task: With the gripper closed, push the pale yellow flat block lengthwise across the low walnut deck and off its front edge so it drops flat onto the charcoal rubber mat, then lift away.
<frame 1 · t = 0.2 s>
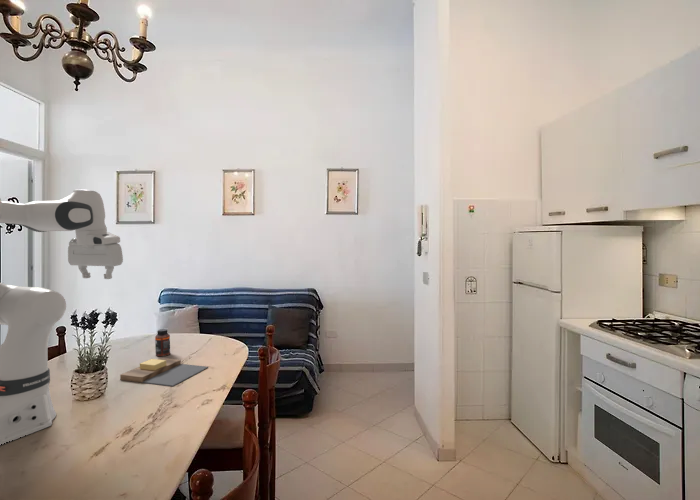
hand: (97, 278, 129), 39 cm above the table, tool pointing down, fingers open, 8 cm apart
mat: (177, 374, 145), on the table
deck: (152, 371, 148), on the table
supplement bottle: (163, 355, 170), on the table
pale yellow flat block: (153, 366, 148), point 2 cm above the table, touching deck
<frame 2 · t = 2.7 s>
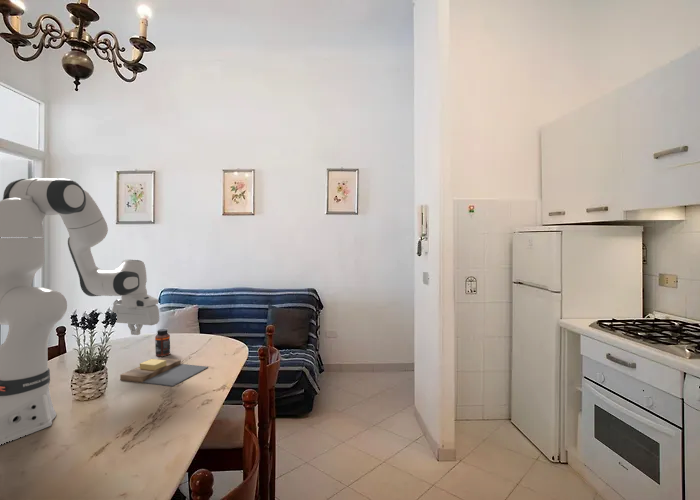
hand: (135, 334, 150), 14 cm above the table, tool pointing down, fingers closed
nothing on the table moved.
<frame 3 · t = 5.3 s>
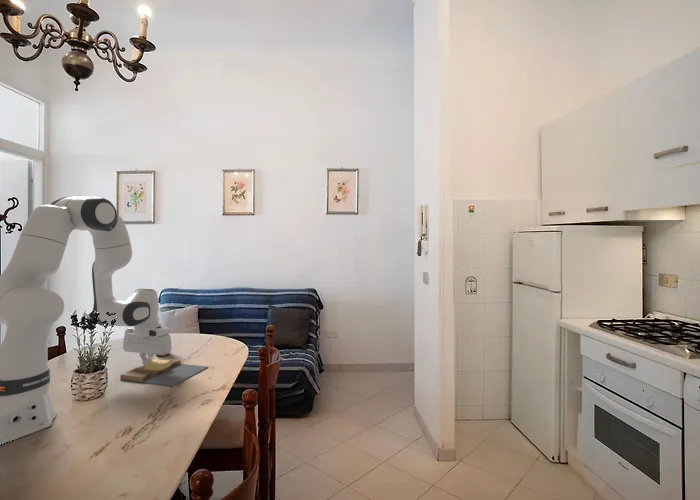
hand: (147, 364, 149), 3 cm above the table, tool pointing down, fingers closed
pale yellow flat block: (157, 367, 147), point 2 cm above the table, touching deck
everything else where it was.
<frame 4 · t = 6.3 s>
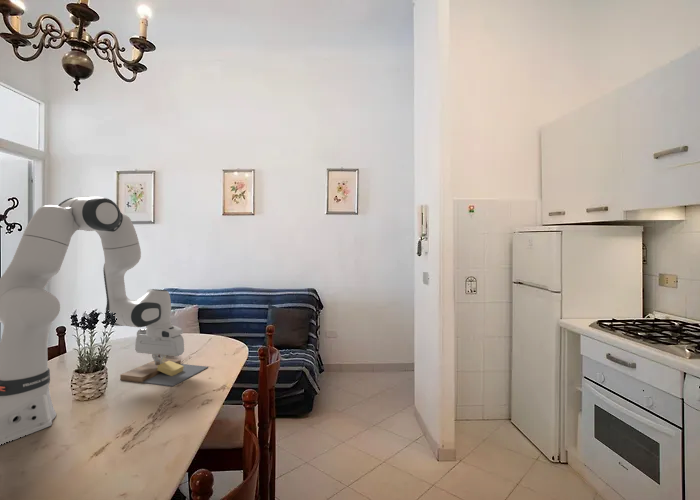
hand: (159, 365, 147), 3 cm above the table, tool pointing down, fingers closed
pale yellow flat block: (170, 370, 146), point 1 cm above the table, tilted 14°, touching mat
everything else where it was.
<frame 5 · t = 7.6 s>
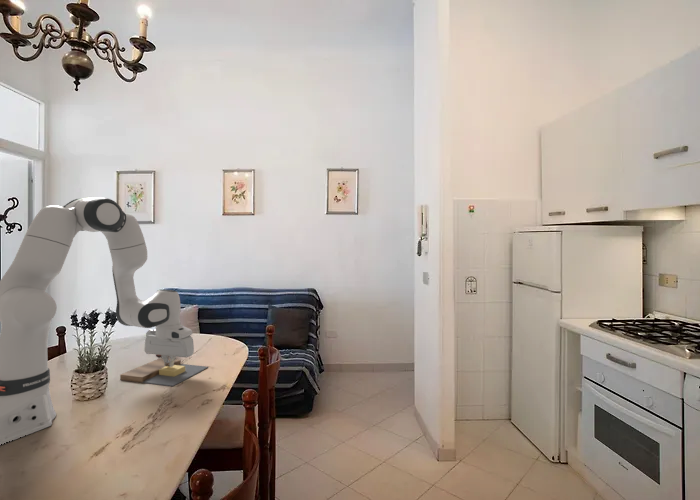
hand: (169, 366, 146), 3 cm above the table, tool pointing down, fingers closed
pale yellow flat block: (172, 372, 146), resting on mat
everything else where it was.
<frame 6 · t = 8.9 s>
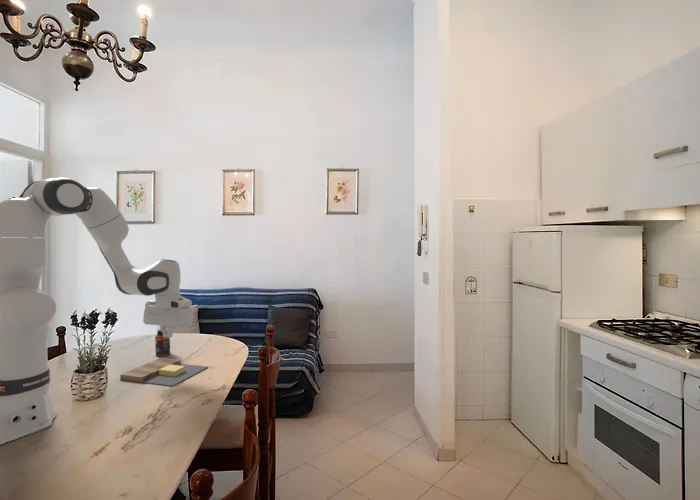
hand: (167, 337, 145), 14 cm above the table, tool pointing down, fingers closed
nothing on the table moved.
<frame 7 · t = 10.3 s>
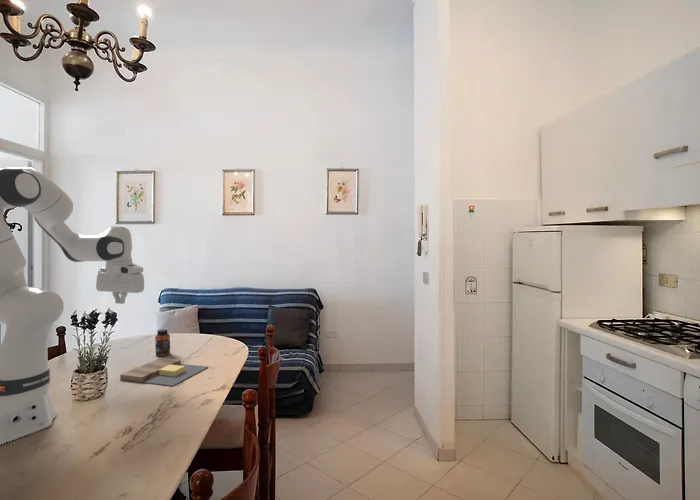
hand: (120, 303, 147), 27 cm above the table, tool pointing down, fingers closed
nothing on the table moved.
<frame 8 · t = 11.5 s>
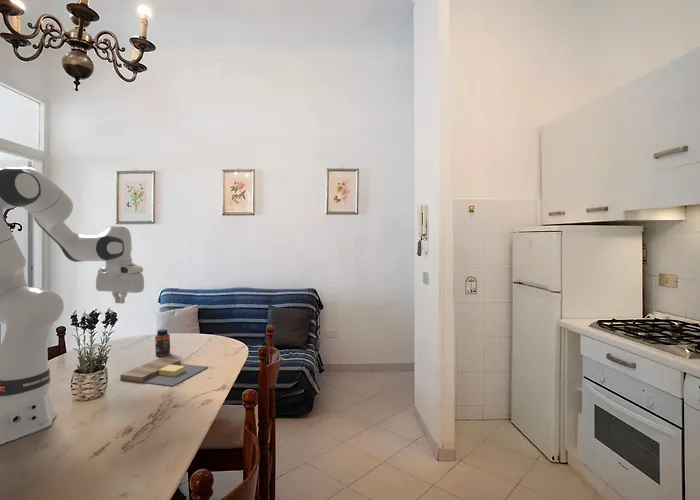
hand: (119, 303, 147), 27 cm above the table, tool pointing down, fingers closed
nothing on the table moved.
at the end: pale yellow flat block resting on mat; pale yellow flat block inside the target area on the mat (2.5 cm from its centre), point 0.4 cm above the mat's base; pale yellow flat block tilted 0° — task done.
